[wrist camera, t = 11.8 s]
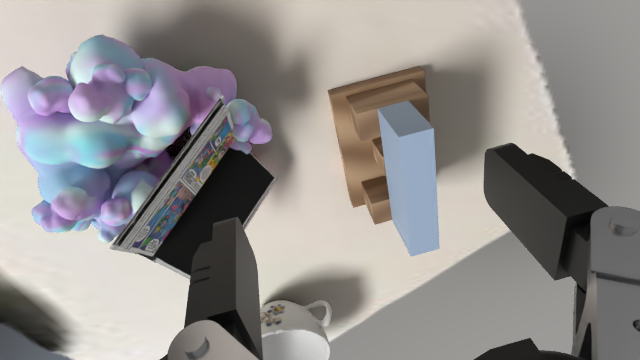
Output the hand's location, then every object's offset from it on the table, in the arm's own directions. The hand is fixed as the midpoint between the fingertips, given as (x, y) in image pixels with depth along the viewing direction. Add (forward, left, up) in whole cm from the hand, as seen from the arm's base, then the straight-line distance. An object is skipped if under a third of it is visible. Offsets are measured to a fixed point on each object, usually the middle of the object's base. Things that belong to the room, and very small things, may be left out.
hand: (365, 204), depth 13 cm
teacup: (+40, -10, -30) cm, 51 cm away
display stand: (+16, +8, -30) cm, 35 cm away
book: (+8, -14, -30) cm, 34 cm away
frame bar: (+16, +8, -24) cm, 30 cm away
